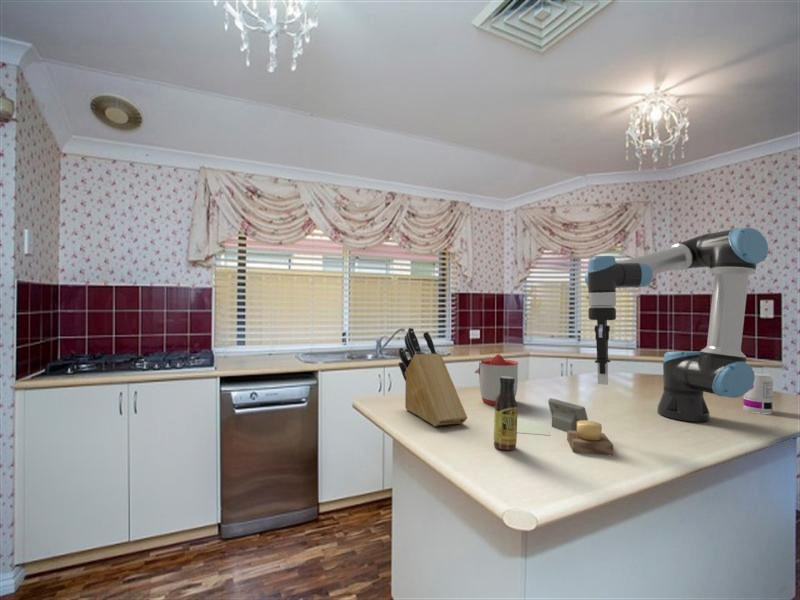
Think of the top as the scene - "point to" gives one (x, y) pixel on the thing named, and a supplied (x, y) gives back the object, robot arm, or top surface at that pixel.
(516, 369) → the citrus juicer
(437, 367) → the knife block
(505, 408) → the sauce bottle
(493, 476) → the top surface
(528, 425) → the pad
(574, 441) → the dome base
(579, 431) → the yellow rounded cube
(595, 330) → the robot arm
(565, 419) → the digital clock
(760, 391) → the supplement can
